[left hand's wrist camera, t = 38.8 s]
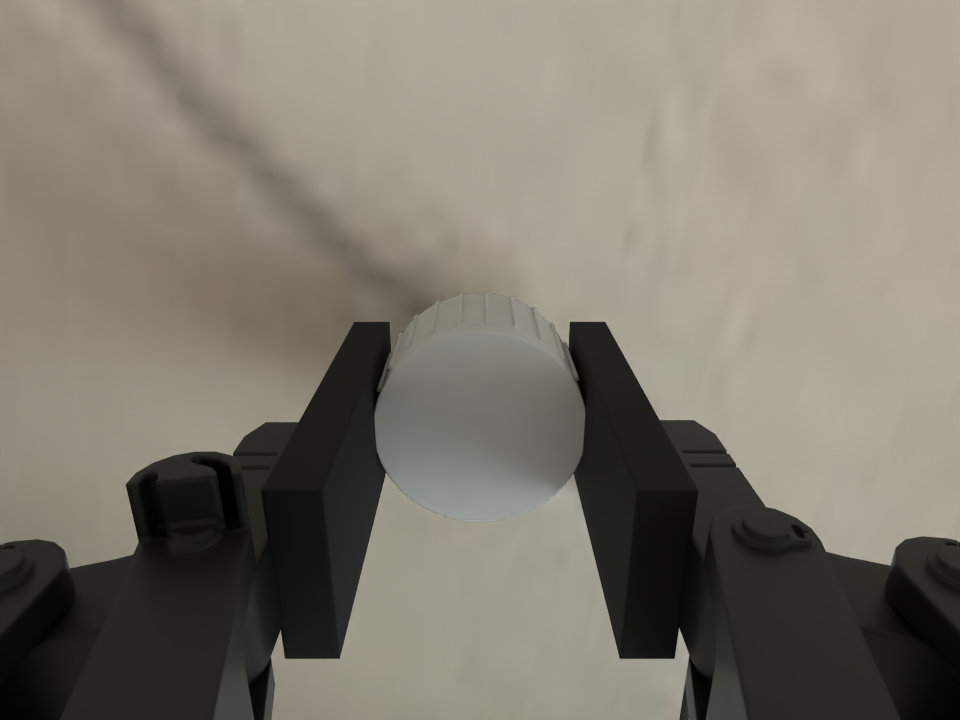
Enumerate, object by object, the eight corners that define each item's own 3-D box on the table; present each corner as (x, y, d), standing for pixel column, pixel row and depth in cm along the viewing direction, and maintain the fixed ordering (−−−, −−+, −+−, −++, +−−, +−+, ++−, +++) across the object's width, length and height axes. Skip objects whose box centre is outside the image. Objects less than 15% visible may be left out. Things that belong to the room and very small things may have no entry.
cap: (349, 355, 14) (324, 405, 12) (507, 252, 13) (514, 284, 11) (455, 489, 16) (452, 557, 13) (605, 403, 15) (629, 459, 12)
